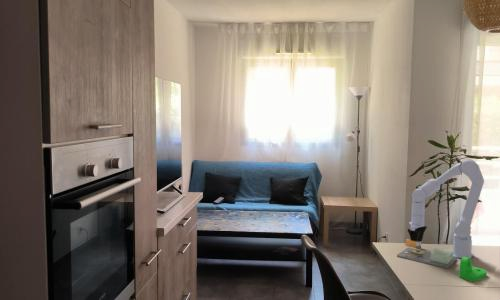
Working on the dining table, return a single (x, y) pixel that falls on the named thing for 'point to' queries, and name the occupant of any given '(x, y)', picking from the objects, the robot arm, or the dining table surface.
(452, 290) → the dining table surface
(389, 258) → the dining table surface
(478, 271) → the mechanical part
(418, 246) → the t key
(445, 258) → the cover
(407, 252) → the latch plate
